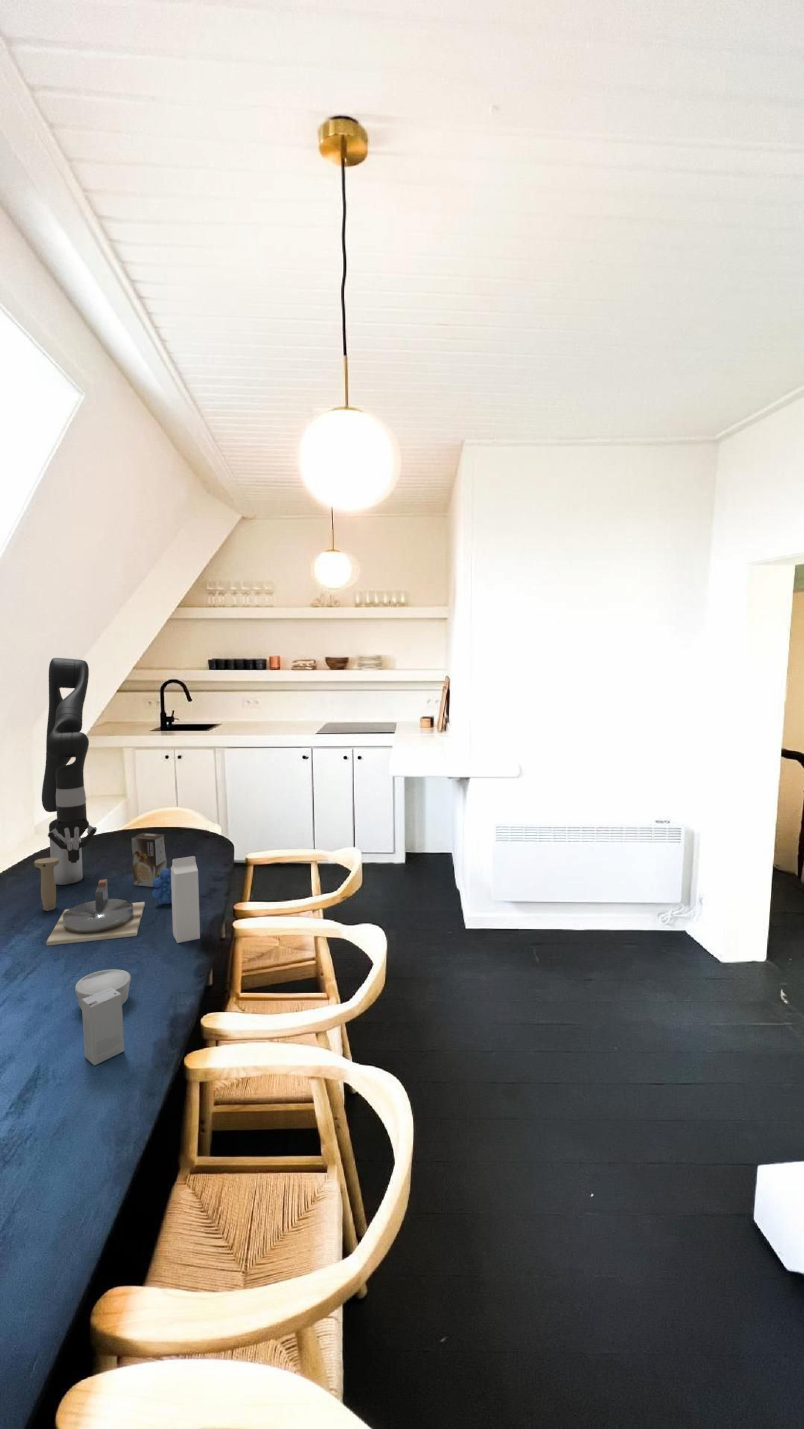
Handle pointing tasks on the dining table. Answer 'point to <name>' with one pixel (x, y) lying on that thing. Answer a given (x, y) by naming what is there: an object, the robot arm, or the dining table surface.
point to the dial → (98, 913)
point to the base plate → (126, 930)
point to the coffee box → (148, 858)
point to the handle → (47, 882)
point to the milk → (185, 899)
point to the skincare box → (103, 1025)
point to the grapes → (163, 887)
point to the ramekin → (103, 984)
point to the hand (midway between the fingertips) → (74, 862)
